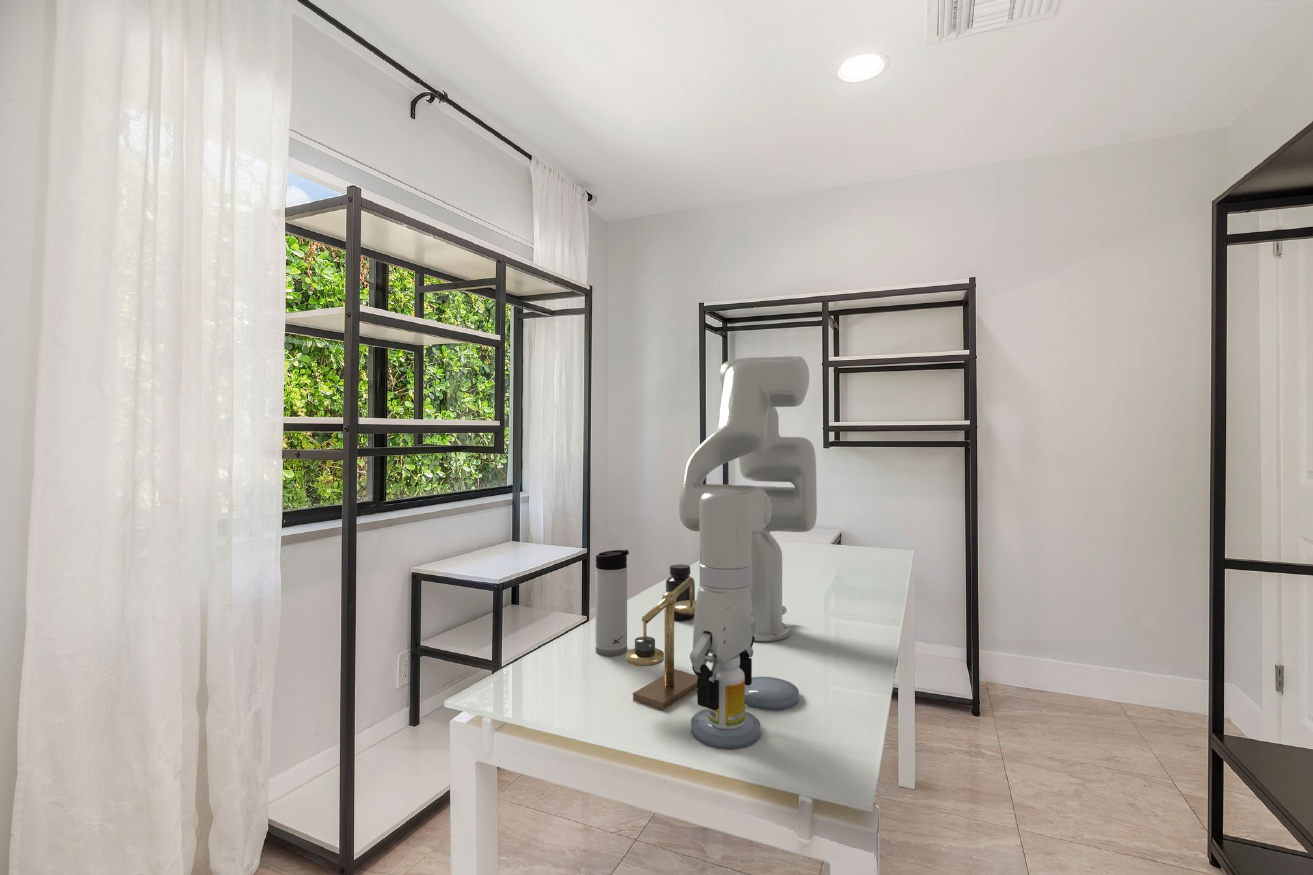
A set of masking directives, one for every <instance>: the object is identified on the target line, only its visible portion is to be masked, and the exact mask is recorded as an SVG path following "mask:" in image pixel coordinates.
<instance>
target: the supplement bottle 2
mask: <svg viewBox="0 0 1313 875" xmlns="http://www.w3.org/2000/svg"><path fill="white" fill-rule="evenodd" d="M711 656H713V657H717V655H715V654H711ZM711 664H712V665H713V663H711ZM739 666H740V655H739V654H738V655H736V656H735V657H733V658H732V659H730V660H728V661H727V662H725V663H722V664H721V666H720V669H719V672H718V675H717V678H716V680H719V708H718V709H717V710H712V709H709V708H707V709H708V710H707V714H708V721H709V723H710V724H711V725H712V726H714V727H716V728H719V729H727V730H729V729H736V728H739V727H741V726H742V725H743V724H744V722H745V711H746V709H745V708H746V705H745V675H744V672H743V671H742V669H740V668H739ZM709 669H710V670H711V669H712V666H711V667H710V668H709Z"/></svg>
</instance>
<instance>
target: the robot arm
mask: <svg viewBox="0 0 1313 875" xmlns="http://www.w3.org/2000/svg"><path fill="white" fill-rule="evenodd" d="M719 377H720V383H721V386H722V388H721V390H722V391H721V397H720V403H719V404H720V406H719V414H718V420H717V428H716V430H715V431H714V432H713V433H712V434H710V435H709V436H708V437H707V438H705V440H703V441H702V442H701V443H700V445H699V446H697V447H696V449H695V450H694V451H693V452H692V454H691V456H689V459H688V460H687V463H686V465H685V467H684V472H683V475H682V482H681V488H680V493H679V494H680V496H679V502H678V503H679V505H678V511H679V512H678V514H679V519H680V522H681V523H682V525H683V526H684V527H685V529H686V528H687V530H689V531H693V532H699V582H698V583H699V587H700V588H698V590H697V596H696V599H695V601H696V607H695V616H694V618H693V631H692V632H693V635H692V650H691V652H690V654H689V659H690V662H691V667H692V668H691V669H692V671H693V674H694V675H695V677H696V678H697V689H696V690H697V692H696V694H697V695H696V699H697V700H696V703H697V705H698V706H700V707H703V708H705V709H708V708H709V709H712V710H717V709H718V708H719V680H716V678H717V675H718V672H719V669H720V666H721V664H722V663H725V662H727V661H728V660H730V659H732V658H733V657H735V656H736V655H738V654H739V655H740V666H739V668H740V669H742V671H743V672H744V675H745V685H747V686H749V685H751V684H752V676H753V670H752V669H753V667H752V666H753V664H752V663H753V661H752V660H753V659H752V657H754V656H753V655H754V650H753V645H754V644H755V642H776V641H780V640H784V639H785V638H788V636H790V634H791V633H790V632H791V630H790V627H789V625H787V624H786V623H785V622H783V615H785V614H786V613H787V612H788V610H787V607H786V606H785V605H783V551H782V548H781V546H780V545H779V543H778V541H777V540H776V539H775V538H774V536H773V535H772V534H771V532H783V533H784V532H785V533H787V532H788V533H789V532H790V533H807V532H809V531H811V530H813V529H814V527H815V525H816V523H817V522H816V521H817V513H818V512H817V510H818V508H817V507H818V502H817V495H818V492H817V457H816V452H815V447H814V445H813V443H812V442H811V440H809V439H807V438H805V437H801V436H781V435H780V432H779V430H780V429H779V428H780V427H779V426H780V425H779V413H778V410H777V408H785V407H789V408H794V407H799V406H801V405H802V404H803V402H804V400H805V399H806V395H807V392H808V390H809V386H810V370H809V366H808V362H807V361H806V360H805V358H804V357H802V356H799V355H798V356H797V355H793V356H792V355H791V356H788V355H787V356H768V357H767V356H757V357H755V356H754V357H739V358H733V359H730V360H727V361H725V362H723V364H722V365H721V367H720V371H719ZM736 459H738V462H739V463H738V464H739V470H740V471H739V472H740V473H741V475H742V476H743V478H744V479H746V480H749V481H753V482H765V483H766V482H767V483H768V482H771V483H774V482H775V483H791V485H793V487H792V486H771V485H770V486H768V485H764V486H763V485H762V486H761V485H745V484H743V485H740V484H739V485H738V484H736V485H735V484H718V483H717V484H714V483H712V484H711V483H710V484H709V483H706V484H705V483H704V481H705V479H706V478H707V477H708V476H709V474H710V473H711V472H712V471H714V470H716V468H718V467H720V466H722V465H724V464H726V463H729V462H732V461H734V460H736ZM712 654H715V655H717V657H713V656H712ZM707 663H710V664H712V663H713V664H712V666H711V667H712V669H711V670H710V668H709V666H708V665H707Z"/></svg>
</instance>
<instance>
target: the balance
mask: <svg viewBox="0 0 1313 875" xmlns="http://www.w3.org/2000/svg"><path fill="white" fill-rule="evenodd" d="M694 582H695V580H694V578H693V577H692V576H690V577H689V578H688V579H687V580H685V581H684V582H683V583H682V584H681V585H680V586H678V587H677V588H676V589H675V590H674V591H673V592H666V591H665V592H664V593H663V595H662V597H661V599H662V600H660V602H658V603H657V604H656V605H655V606H654V607H653V608H651V609H650V610H649V611H648V612H647V613H646V614H645V615H643V616H642V618H641V621H642V623H643V624H642V628H643V630H642V631H643V633H642V636H637V637H635V639H634V648H631V649H628V650H627V651H626V652H625V661H626V662H627V664H629V665H633V666H636V667H652V666H657V665H660V664H662V663H663V662H664V674H663V675H662V676H660V677H658V678H656V679H655V680H653V681H652V682H649V683H648V684H646V685H644V686H643V687H641V688H639V689H637V690H636V691H634V692H632V701H634V702H635V703H636V702H637V703H640V704H643V705H646V706H649V707H652V708H655V709H658V710H661V711H665V710H666V709H668V708H669V707H671V706H672V705H674V704H676V703H677V702H679V701H680V700H682V699H684V698H685V697H686V696H688V695H689V694H691V693H692V692H694V691H696V690H697V678H696V677H695V673H689V672H686V671H683V670H679V669H676V668H675V620H674V611H675V612H677V613H680V614H685V615H695V607H696V600H695V601H693V583H694ZM689 586H690V600H688V601H680V602H677V603H676V598H677V597H678V596H679V595H680V594H681V593H682V592H684V591H685V590H686V589H687V588H688V587H689ZM663 610H664V650H661V649H659V648H657V647H656V639H655V638H654V637H652V636H647V627H648V626H647V624H649V623H650V621H652V620H653V619H654V618H655V617H656V616H658V615H659V613H661V612H662V611H663Z"/></svg>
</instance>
